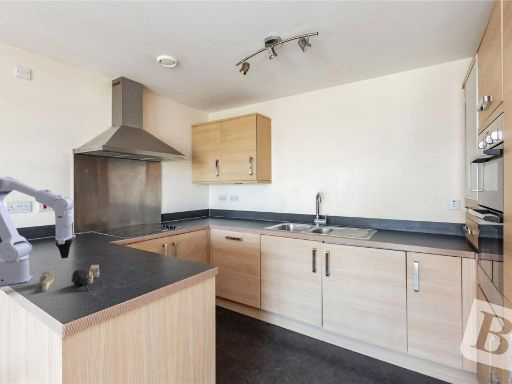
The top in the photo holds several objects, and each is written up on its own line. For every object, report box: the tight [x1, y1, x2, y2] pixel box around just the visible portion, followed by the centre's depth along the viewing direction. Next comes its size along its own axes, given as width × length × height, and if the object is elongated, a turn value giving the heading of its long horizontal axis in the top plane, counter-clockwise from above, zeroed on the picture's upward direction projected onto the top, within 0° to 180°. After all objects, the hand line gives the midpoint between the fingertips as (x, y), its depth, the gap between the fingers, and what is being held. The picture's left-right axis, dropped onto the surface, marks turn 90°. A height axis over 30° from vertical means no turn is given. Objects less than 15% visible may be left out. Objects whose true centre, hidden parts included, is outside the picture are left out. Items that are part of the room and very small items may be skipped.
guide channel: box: [39, 264, 100, 293], centre depth 112 cm, size 20×18×4 cm
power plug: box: [70, 268, 90, 292], centre depth 105 cm, size 6×8×12 cm
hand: (64, 257), depth 115 cm, fingers closed
